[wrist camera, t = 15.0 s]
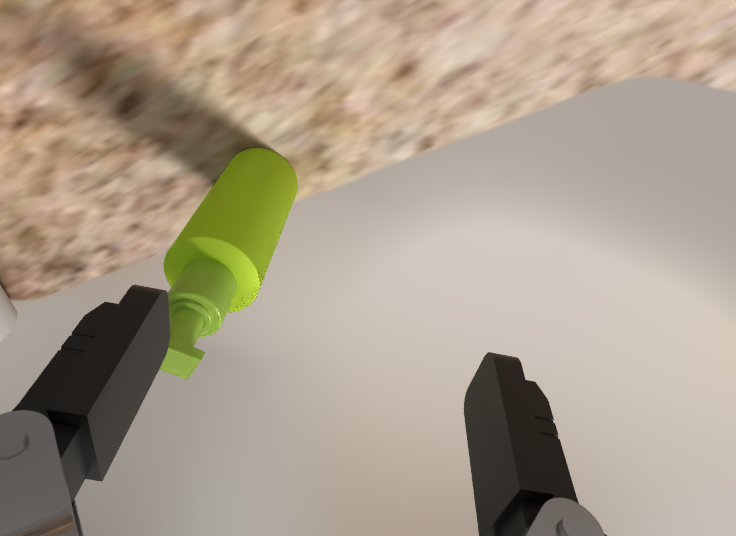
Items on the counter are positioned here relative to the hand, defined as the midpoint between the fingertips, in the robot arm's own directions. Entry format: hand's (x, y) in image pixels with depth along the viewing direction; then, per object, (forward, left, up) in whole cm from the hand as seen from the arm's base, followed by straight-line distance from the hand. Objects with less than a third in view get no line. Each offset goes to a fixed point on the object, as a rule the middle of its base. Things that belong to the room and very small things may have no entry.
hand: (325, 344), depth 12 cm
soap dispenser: (-8, -11, -28) cm, 31 cm away
